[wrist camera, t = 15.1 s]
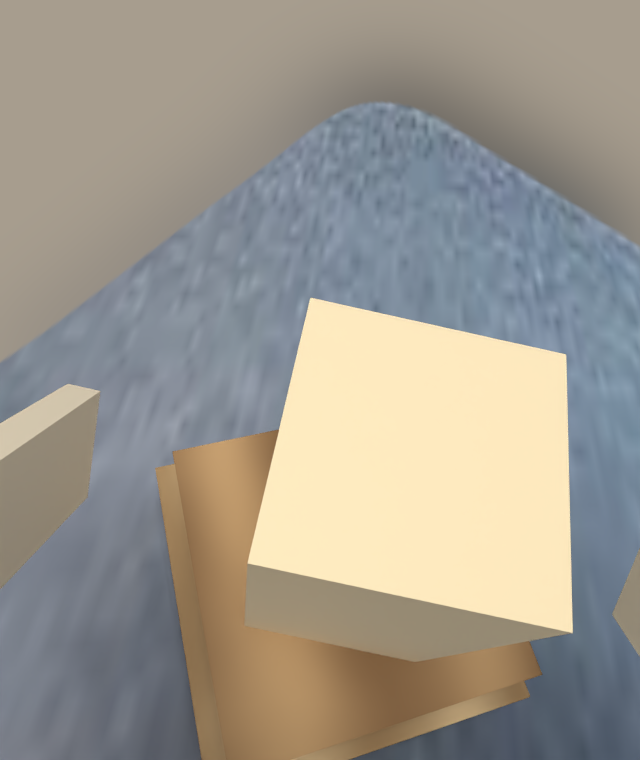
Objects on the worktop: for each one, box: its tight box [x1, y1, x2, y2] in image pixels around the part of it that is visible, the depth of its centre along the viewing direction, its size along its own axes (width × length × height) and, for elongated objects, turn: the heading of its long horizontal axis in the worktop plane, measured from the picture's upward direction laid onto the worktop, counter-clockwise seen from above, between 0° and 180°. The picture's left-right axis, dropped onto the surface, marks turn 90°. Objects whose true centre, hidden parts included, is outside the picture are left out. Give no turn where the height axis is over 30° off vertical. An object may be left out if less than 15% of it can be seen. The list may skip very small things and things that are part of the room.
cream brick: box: [244, 298, 573, 662], centre depth 17 cm, size 6×6×11 cm
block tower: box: [155, 430, 542, 760], centre depth 25 cm, size 13×13×8 cm
